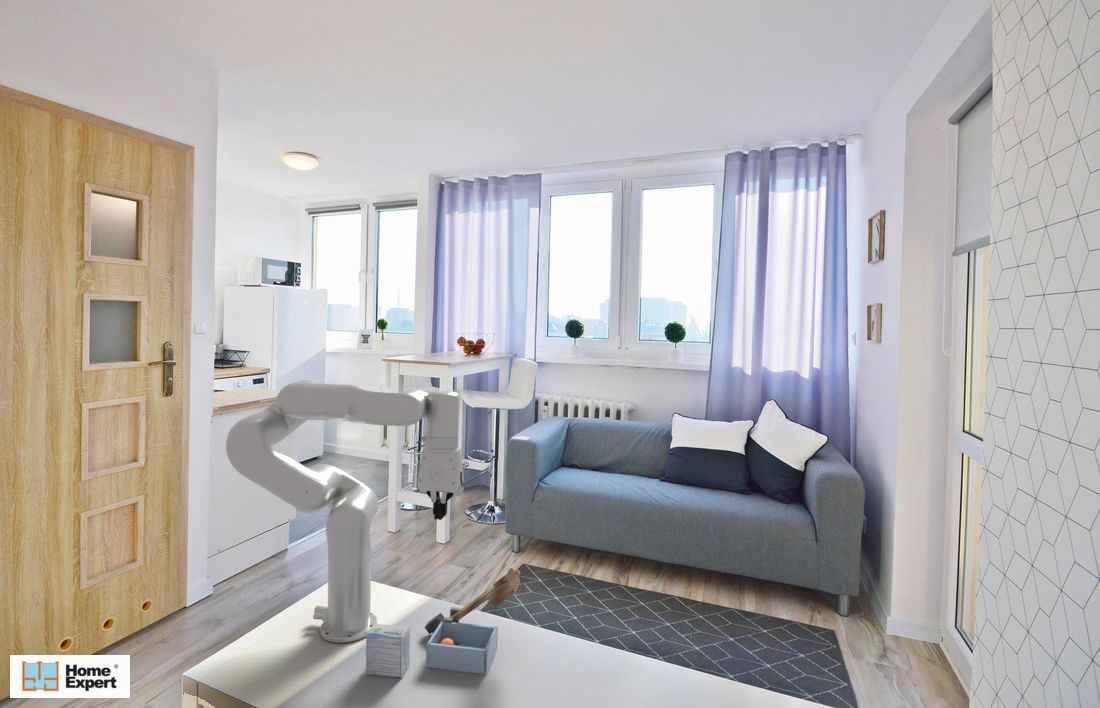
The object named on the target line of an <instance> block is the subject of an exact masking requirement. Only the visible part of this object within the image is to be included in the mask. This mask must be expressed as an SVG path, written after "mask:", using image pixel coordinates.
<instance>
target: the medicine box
mask: <svg viewBox="0 0 1100 708" xmlns="http://www.w3.org/2000/svg"><path fill="white" fill-rule="evenodd" d="M410 628H411V627H410V626H408V625H407V626H406V625H397V624H396V625H394V624H384V623H383V624H382V623H381V624H380V623H377V624H375V625H374V626H373V627H372V629H371V630H370V631H369V632H368V634H367V635H366V636H365V639H366V640H365V644H366V645H365V649H366V650H365V675H366V676H367V675H368V676H379V677H388V678H389V677H391V678H401V679H403V677H404V675H405V673H406V672H407V671H408V668H409V666H410V663H411V662H410V661H411V660H410V657H411V655H410V653H411V652H410V648H411V647H410V646H411V645H410V644H411V642H410V641H411V640H410V638H411V636H410V635H411V634H410V633H411V629H410Z"/></svg>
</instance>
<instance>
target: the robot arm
mask: <svg viewBox="0 0 1100 708" xmlns="http://www.w3.org/2000/svg"><path fill="white" fill-rule="evenodd" d="M460 401H461V399H460V395H459V394H458V393H457V392H456V391H450V390H436V391H431V390H424V389H418V388H417V389H416V388H410V389H406V390H404V391H403V392H382V391H381V392H380V391H373V390H372V391H371V390H365V389H362V388H360V387H358V386H357V385H353V384H340V383H337V384H333V383H318V381H317V382H316V381H314V380H311V379H310V380H309V379H304V380H299V381H294V382H291V383H288V384H287V385H285V386H283V387H282V388H281V389H280V390H279V391H278V394H277V396H276V401H274V402H273V403H272V404H271V405H269V406H268V407H266V408H265V409H264V410H262V411H260V412H257V413H253V414H251V415H249V416H248V415H247V416H246V417H242V419H240V420H238V421H237V422H236V423H235V424H234V425H233V426H232V427H231V428H230V430H229V432H228V434H227V436H226V440H225V451H226V456H227V459H228V461H229V462H230V465H231V466H232V467H233V469H234V470H236V472H238V474H240V475H241V476H243V477H244V478H246V479H247V480H249V481H250V482H253V483H254V484H257V485H258V486H260V487H261V488H263V489H265V490H267V491H268V492H269V493H271V494H273V495H274V496H275V497H277V498H279V499H280V500H282V501H284V502H285V503H287V504H289V505H290V506H292V507H294V508H295V509H297V510H298V511H301V512H303V513H305V514H306V513H307V514H314V513H318V512H320V511H321V510H322V509H324V508H325V507H326V508H328V509H329V512H328V515H327V518H326V523H325V533H326V541H327V574H328V575H327V606H323V605H316V606H315V608H314V610H313V613H314V614H313V615H312V616H313V617H312V618H313V620H320V621H322V623H321V625H320V630H319V631H320V632H319V633H320V634H319V635H320V636H321V638H322V639H323V640H325V641H327V642H330V643H337V644H338V643H340V644H344V643H351V642H354V641H355V642H356V641H359V640H361V639H364V638H366V635H367V634H368V632H369V631H370V630H371V629H372V627H373V626H374V625H375V624H378V618H377V616H376V614H374V613H372V612H371V598H372V597H371V594H372V592H371V588H372V587H371V585H372V584H371V582H372V581H371V580H372V574H371V573H372V543H371V523H372V521H373V520H374V517H375V516H376V514H377V511H378V509H379V500H378V496H377V494H376V492H374V490H372V488H371V487H369V486H367V485H366V484H364V483H363V482H362V481H359V480H357V479H356V478H355V477H353V476H351V475H350V474H348V473H347V472H344V471H343V470H342V469H340V468H338V467H337V466H334V465H332V464H329V463H317V464H314V465H311V466H310V467H307V466H306V465H303V464H302V463H300V462H298V461H297V460H296V459H295V458H293V457H291V456H290V455H287V454H284V453H282V452H279V451H276V450H275V449H273V448H272V446H274V445H277V443H280V442H281V441H283V440H284V439H286V438H287V437H288V436H289V435H291V434H292V433H293V432H294V431H296V430H297V429H298V428H299V427H300V426H302V425H303V424H305V422H307V421H308V420H311V421H332V422H333V421H338V422H349V423H354V424H355V423H357V424H362V425H363V424H364V425H371V426H372V425H373V426H387V427H389V426H390V427H392V426H393V427H396V426H397V427H407V426H412V425H415V424H417V423H418V422H420V420H422V419H426V434H425V435H424V436H421V439H420V440H421V443H425V446H424V447H422V450H421V454H420V459H419V466H418V473H417V487H418V488H419V489H418V491H419V492H420V493H422V494H425V495H427V497H429V499H430V501H431V502H432V515H433V516H434V517H433V520H435V521H436V520H438V521H441V520H442V519H444V518H445V517H446V516H447V514H448V501H449V500H450V499H452V498H453V497H459V496H462V495H463V493H464V492H463V484H464V466H463V465H464V464H463V456H462V451H461V448H460V447H459V430H460V429H459V427H460V406H461V405H460Z"/></svg>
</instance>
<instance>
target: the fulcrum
mask: <svg viewBox="0 0 1100 708" xmlns="http://www.w3.org/2000/svg"><path fill="white" fill-rule="evenodd" d="M460 609H461V608H460V607H453V606H452V607H450V609H449V611H450V612H449V617H451V616H452V615H453V614H455V613H456V612H458V611H459V610H460ZM449 617H447V616H446V617H445V616H444V622H446V623H452V622H453V618H449ZM456 623H460V620H458V621H457V622H456ZM459 644H460V643H458V642H454V645H459Z"/></svg>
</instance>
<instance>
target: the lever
mask: <svg viewBox="0 0 1100 708" xmlns="http://www.w3.org/2000/svg"><path fill="white" fill-rule="evenodd" d="M521 574H522V573H521V570H520V569H519V568H516V570H515V569H513V568H512V567H511V568H509V569H508V570H507V573H506V574H504V576H502V577H501V578H500V579H498V580H496V581H495V582H494V583H493V584H492V587H490V588H488V589H487V590H486V591H485V592H483V593H481V594H480V595H479V596H478V597H476V598H475V599H473V600H472V601H471V602H469V603H467V604H466V605H465V606H463V607H462V608H460V610H459V611H458V612H456V613H455V614H453V615H452V616H451V617H450V616H449V617H448V618H453V622H457V621H458V620H459V621H460V620H462V618H464V617H465V616H467V615H468V614H469V613H472V612H473V611H474V610H475V609H477V608H478V607H479V606H480V605H483V603H486V602H487V601H488V602H489V603H490V605H492V606H493V608H495V607H497V606H499V605H500V604H502V603H503V602H505V601H506V600H507V599H508V598H510V597H512V596H513V595H515V593H516V592H517V590H518V588H519V586H520V583H521V578H520V576H521ZM444 618H445V616H444V615H443V614H442V612H440V613H439V614H437V615H436V616H434V617H432V618H431V619H430V620H429V621H427V623H426V624H425V626H424V629H425V630H426V632H427V633H428V635H431V634H433V633H434V632H435V630H436V629H437V627H438V626H439V624H440V623H441V621H444Z"/></svg>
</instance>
